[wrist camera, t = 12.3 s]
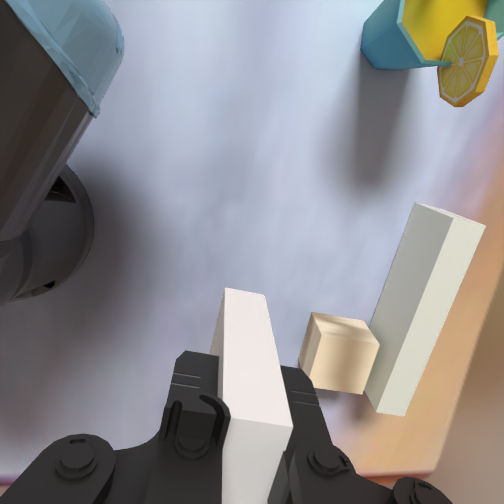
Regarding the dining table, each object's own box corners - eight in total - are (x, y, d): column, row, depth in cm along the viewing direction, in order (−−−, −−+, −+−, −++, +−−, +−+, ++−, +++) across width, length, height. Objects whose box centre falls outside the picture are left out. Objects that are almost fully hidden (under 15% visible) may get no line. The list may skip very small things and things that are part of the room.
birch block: (298, 358, 44) (306, 386, 39) (311, 311, 42) (321, 335, 37) (348, 365, 44) (362, 394, 40) (363, 320, 43) (379, 344, 38)
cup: (324, -48, 32) (404, -191, 17) (416, -82, 31) (573, -256, 17) (362, 122, 36) (451, 120, 22) (443, 94, 36) (586, 73, 21)
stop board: (353, 369, 44) (375, 411, 38) (414, 202, 39) (453, 218, 32) (377, 373, 45) (403, 416, 38) (441, 208, 39) (485, 225, 32)
